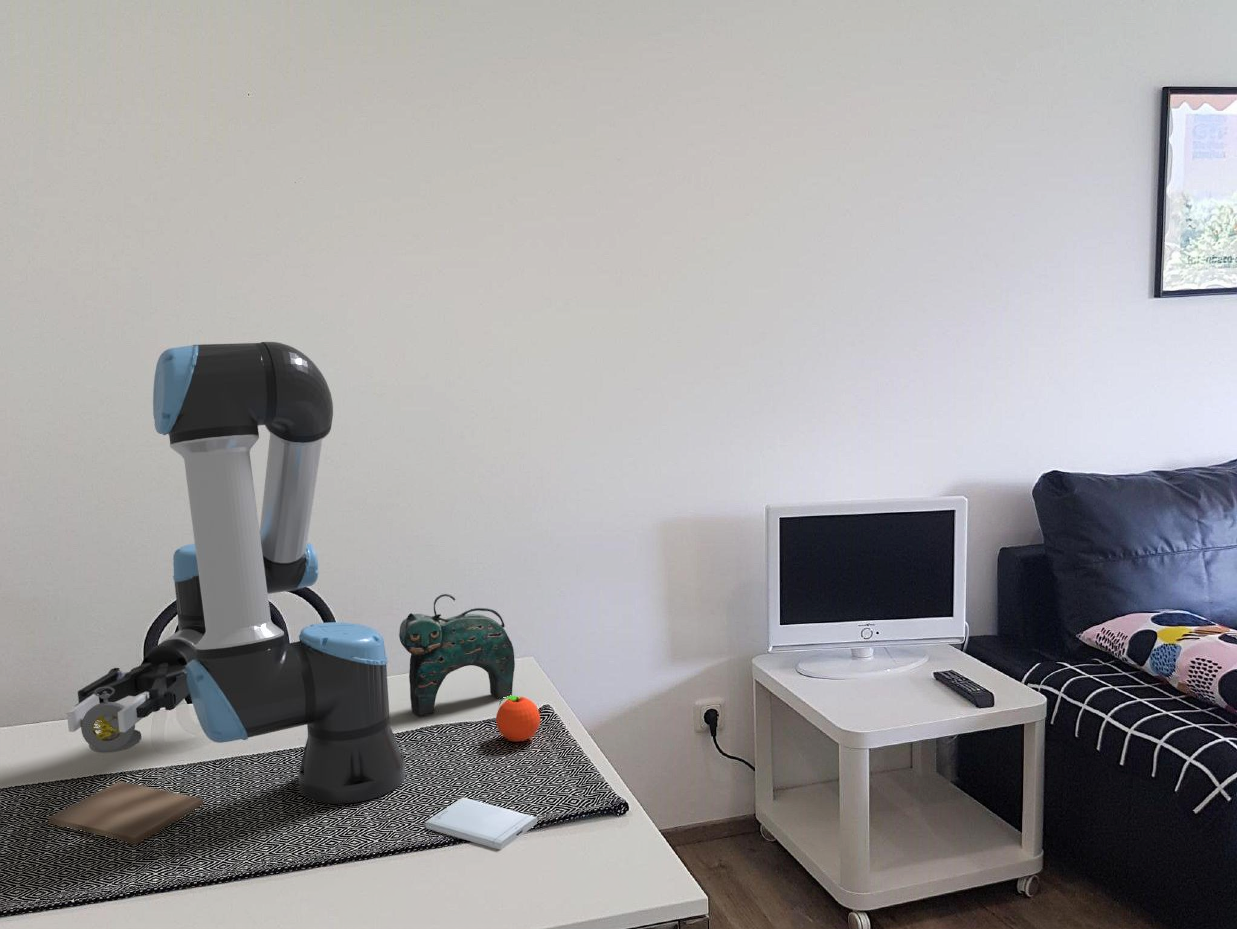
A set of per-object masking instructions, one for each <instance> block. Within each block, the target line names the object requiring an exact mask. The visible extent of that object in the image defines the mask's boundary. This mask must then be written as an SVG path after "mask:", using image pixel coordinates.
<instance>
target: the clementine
mask: <svg viewBox="0 0 1237 929" xmlns="http://www.w3.org/2000/svg"><path fill="white" fill-rule="evenodd" d="M504 699H507V700H505V701H504V702H503V703H502V701H503V700H504ZM498 707H499V708H498V710H497V713H496V716H495V717H496V718H495V722H496V727H497V730H498V731H499V733H500V734H501V736H503V737H504V738H505V739H507V740H509V741H510V742H515V743H517V742H519V741H521V742H525V741H527V739H528V740H530V739H531V738H532V737H533V736H534V735H535V734H536V733H537V732H538V729H539V726H540V723H541V715H540V710H539V709H538V707H537V705H536V704H535V703H534V702H533V701H532V700H530V699H529V698H527V697H524V696H516V695H511V696H508V697H506V698H502V699H500V700H499V705H498ZM524 740H525V741H524Z"/></svg>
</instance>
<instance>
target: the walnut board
mask: <svg viewBox="0 0 1237 929" xmlns="http://www.w3.org/2000/svg"><path fill="white" fill-rule="evenodd" d="M203 804H204V798H200V797H195V796H191V795H186V794H181V793H177V792H173V791H168V790H164V789H158V788H154V787H150V786H144V785H140V784H135V783H132V782H131V783H130V782H127V781H126V782H125V781H122V780H120V781H118V782H115V783H113V784H112V785H110V786H107V787H105V788H104V789H102V790H100V791H98V792H96V793H93V794H92V795H90V796H88V797H86V798H84V799H82V800H80V801H78V802H76V803H73V804H72V805H70V806H68V807H66V808H63V809H62V810H59V811H58V812H56V813H54V814H52V815H50V816H48V817H47V818H48V824H49V823H50V824H49V825H51V824H55V825H57V826H56V827H59V826H62V827H61V828H63V827H69V828H72V829H77V830H82V831H85V832H88V833H93V834H97V835H102V836H107V837H110V838H114V839H117V840H121V841H125V842H128V843H130V844H129V845H133V844H134V845H133V846H136V845H138V844H139V842H140V843H141V842H143V841H145V840H147V839H148V838H150V837H152V836H154V835H155V834H157V833H159V832H160V831H162V830H164V829H166V828H167V827H169V826H171V825H172V823H173V824H174V823H176V822H177V820H178V821H179V819H180V818H181V819H183V818H185V817H186V816H185V815H187V816H188V815H189V814H188V813H190V812H192V811H193V810H195V809H197V808H198V807H200V806H202V805H203ZM202 807H203V806H202ZM200 808H201V807H200ZM197 810H198V809H197ZM195 811H196V810H195ZM193 812H194V811H193ZM193 812H192V813H193ZM190 814H191V813H190ZM184 816H185V817H184ZM182 817H183V818H182ZM181 819H180V820H181ZM170 824H171V825H170ZM55 825H54V826H55ZM165 827H166V828H165ZM88 833H87V834H88ZM153 834H154V835H153ZM149 836H150V837H149ZM146 838H147V839H146ZM144 839H145V840H144ZM142 840H143V841H142ZM128 843H127V844H128Z"/></svg>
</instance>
